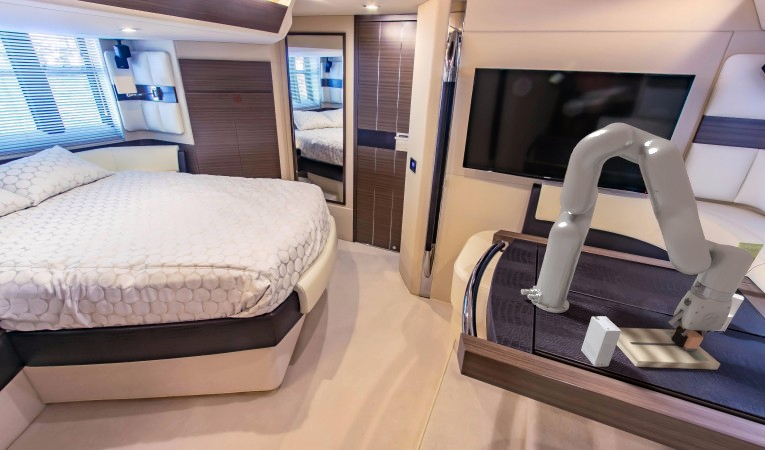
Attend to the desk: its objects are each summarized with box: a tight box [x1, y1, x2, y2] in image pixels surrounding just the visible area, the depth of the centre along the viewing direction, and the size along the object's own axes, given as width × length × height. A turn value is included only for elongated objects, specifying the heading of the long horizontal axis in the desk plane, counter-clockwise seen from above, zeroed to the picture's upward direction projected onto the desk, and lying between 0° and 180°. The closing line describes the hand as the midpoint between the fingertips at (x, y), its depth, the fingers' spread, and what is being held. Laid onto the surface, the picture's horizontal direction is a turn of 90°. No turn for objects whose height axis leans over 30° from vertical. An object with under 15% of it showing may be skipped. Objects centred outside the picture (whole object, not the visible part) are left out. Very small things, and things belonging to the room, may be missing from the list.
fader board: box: [616, 327, 721, 370], centre depth 92 cm, size 22×13×2 cm, turn 89°
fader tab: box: [671, 326, 704, 351], centre depth 90 cm, size 3×5×5 cm, turn 179°
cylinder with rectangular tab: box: [717, 293, 745, 332], centre depth 102 cm, size 9×9×12 cm
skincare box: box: [581, 315, 621, 368], centre depth 86 cm, size 6×4×12 cm
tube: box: [737, 242, 764, 290], centre depth 119 cm, size 6×5×20 cm
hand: (683, 343), depth 91 cm, fingers closed on fader tab, 3 cm apart
